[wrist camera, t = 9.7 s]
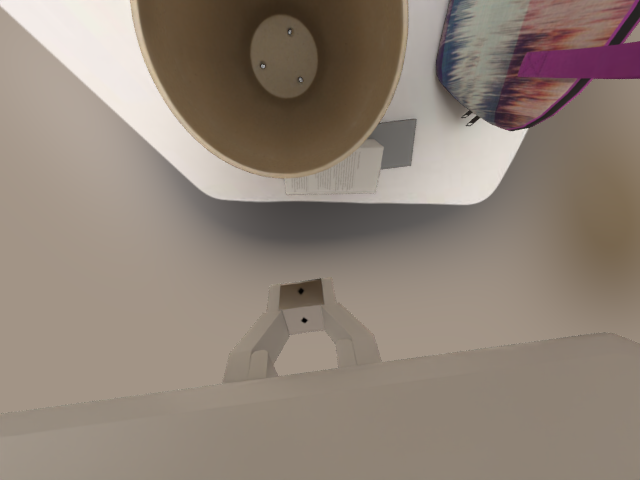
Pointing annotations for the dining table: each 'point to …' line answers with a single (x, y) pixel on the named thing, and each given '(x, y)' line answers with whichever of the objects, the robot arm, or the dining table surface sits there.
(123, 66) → the dining table surface
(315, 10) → the plant pot
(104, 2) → the dining table surface
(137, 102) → the dining table surface
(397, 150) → the mat
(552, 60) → the handbag
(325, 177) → the skincare box
